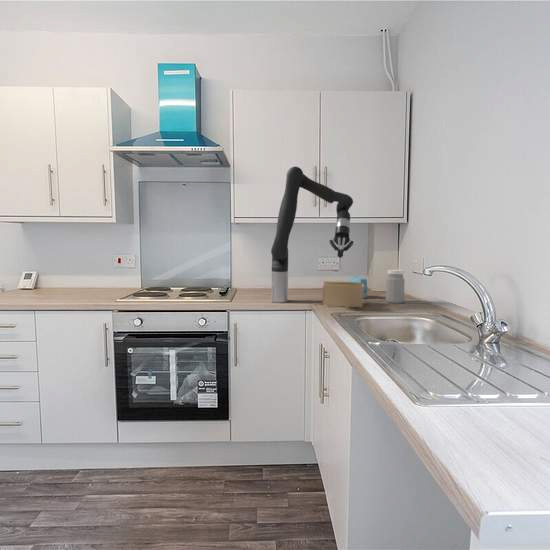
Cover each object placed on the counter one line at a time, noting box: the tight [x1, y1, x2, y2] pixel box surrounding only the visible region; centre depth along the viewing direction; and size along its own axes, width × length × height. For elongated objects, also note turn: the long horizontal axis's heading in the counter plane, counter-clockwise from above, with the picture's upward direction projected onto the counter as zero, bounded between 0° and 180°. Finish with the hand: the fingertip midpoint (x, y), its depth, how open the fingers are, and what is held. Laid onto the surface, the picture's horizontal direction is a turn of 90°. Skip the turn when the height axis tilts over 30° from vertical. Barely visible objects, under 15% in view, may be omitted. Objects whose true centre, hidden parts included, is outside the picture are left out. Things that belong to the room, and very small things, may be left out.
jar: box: [385, 269, 406, 304], centre depth 220 cm, size 10×10×18 cm
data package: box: [349, 276, 368, 299], centre depth 238 cm, size 12×4×12 cm, turn 22°
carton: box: [322, 283, 365, 308], centre depth 214 cm, size 21×15×11 cm
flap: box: [323, 280, 361, 286], centre depth 201 cm, size 19×1×10 cm
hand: (340, 256), depth 202 cm, fingers closed
